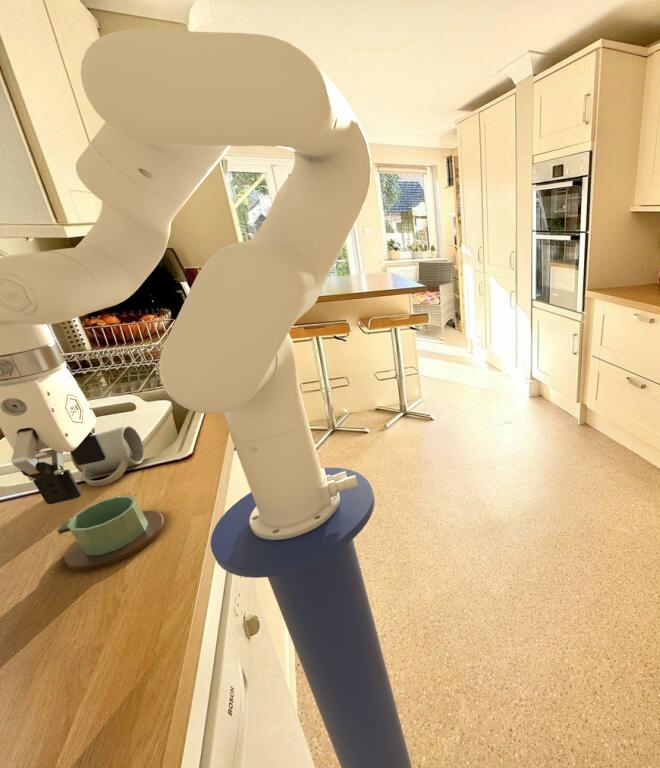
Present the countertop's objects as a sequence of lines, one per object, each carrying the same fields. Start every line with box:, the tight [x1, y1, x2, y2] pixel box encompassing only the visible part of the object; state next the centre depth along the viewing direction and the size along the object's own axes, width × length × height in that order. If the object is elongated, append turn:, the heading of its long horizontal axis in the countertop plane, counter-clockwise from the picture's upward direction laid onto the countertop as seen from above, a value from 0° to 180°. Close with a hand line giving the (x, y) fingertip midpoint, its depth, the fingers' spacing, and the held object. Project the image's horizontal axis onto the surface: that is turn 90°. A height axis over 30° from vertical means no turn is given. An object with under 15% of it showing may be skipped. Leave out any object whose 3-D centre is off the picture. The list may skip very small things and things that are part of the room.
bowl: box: [57, 495, 148, 555], centre depth 60 cm, size 8×7×4 cm
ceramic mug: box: [70, 425, 145, 487], centre depth 76 cm, size 11×8×8 cm
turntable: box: [63, 510, 166, 571], centre depth 61 cm, size 11×11×1 cm
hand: (79, 479), depth 57 cm, fingers open, 9 cm apart
